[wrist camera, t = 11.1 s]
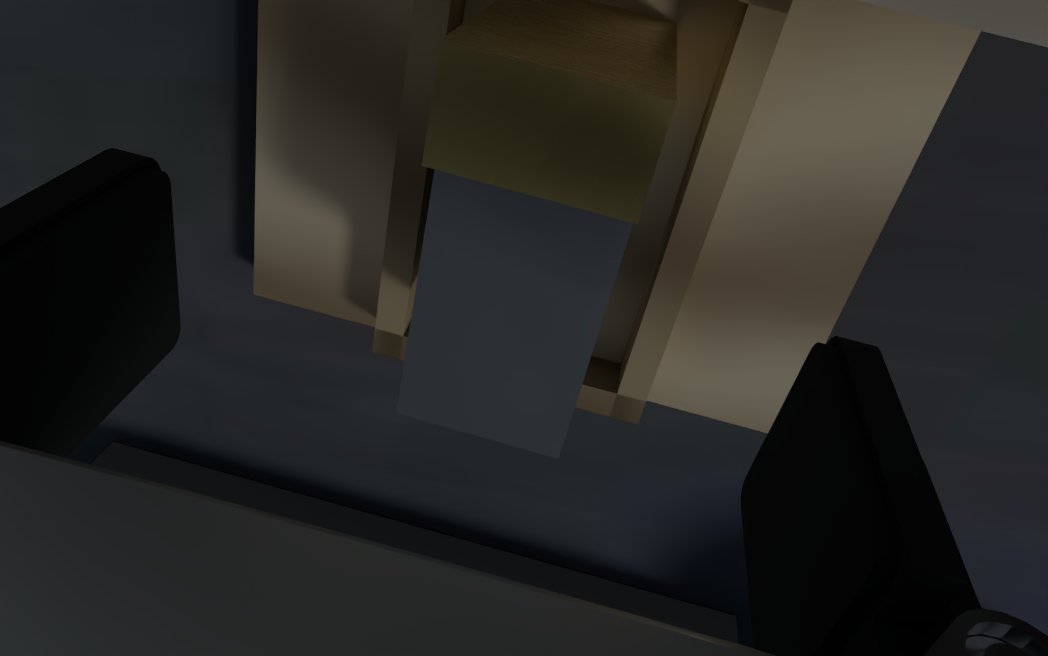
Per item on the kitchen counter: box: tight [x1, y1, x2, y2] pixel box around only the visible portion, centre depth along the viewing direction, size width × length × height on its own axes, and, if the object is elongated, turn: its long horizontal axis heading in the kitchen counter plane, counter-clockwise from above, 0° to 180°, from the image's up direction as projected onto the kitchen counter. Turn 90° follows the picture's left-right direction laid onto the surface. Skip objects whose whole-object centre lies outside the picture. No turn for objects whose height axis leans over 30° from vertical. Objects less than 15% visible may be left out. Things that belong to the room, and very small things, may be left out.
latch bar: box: [396, 0, 677, 459], centre depth 16 cm, size 8×4×7 cm, turn 168°
